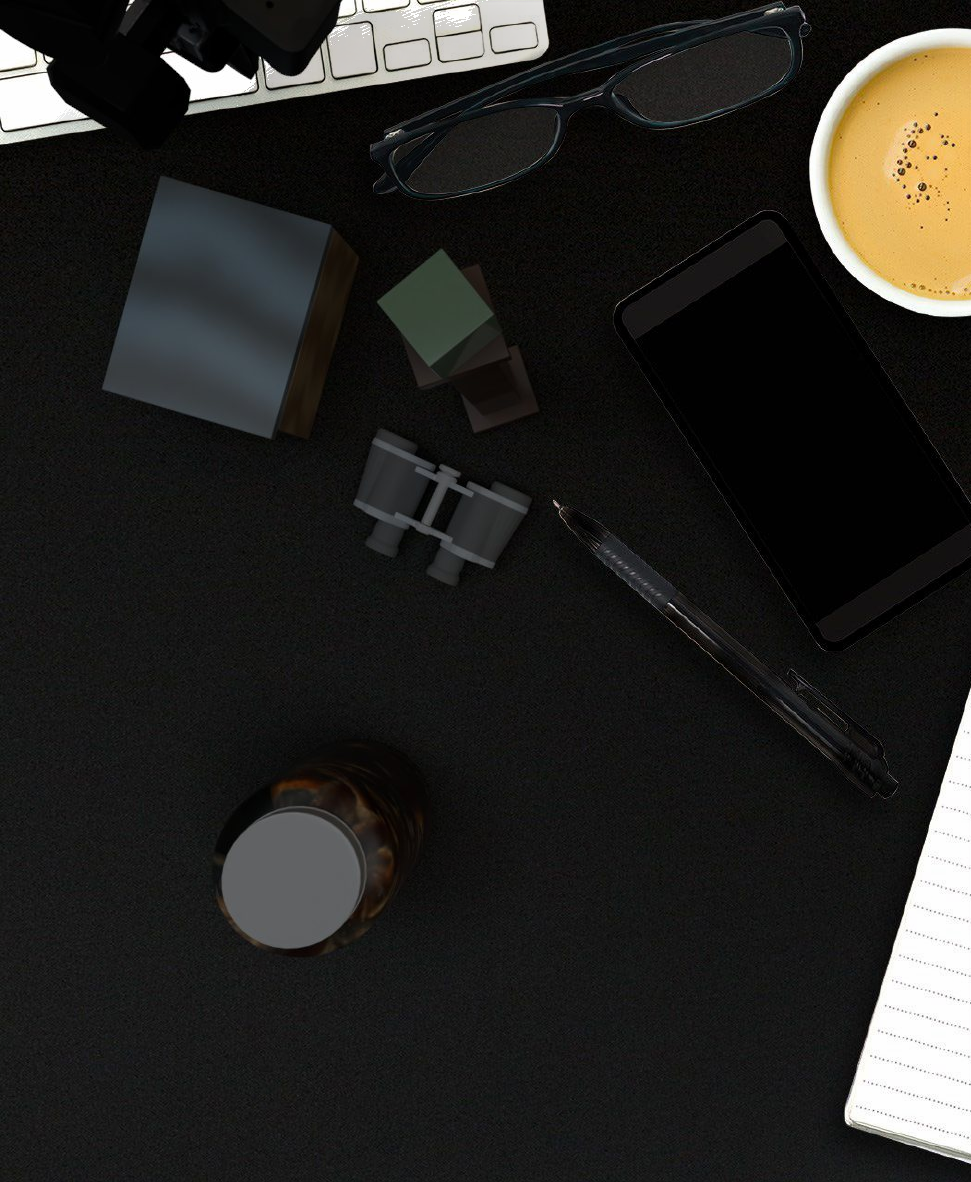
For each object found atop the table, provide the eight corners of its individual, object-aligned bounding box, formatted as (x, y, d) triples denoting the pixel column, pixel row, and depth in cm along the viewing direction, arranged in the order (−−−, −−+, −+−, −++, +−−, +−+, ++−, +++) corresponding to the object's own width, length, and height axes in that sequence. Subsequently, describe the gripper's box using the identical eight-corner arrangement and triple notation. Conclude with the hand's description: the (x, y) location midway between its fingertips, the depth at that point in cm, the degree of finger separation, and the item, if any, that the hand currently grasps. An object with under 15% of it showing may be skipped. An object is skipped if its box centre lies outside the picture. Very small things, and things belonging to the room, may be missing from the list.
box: (308, 440, 76) (278, 429, 70) (156, 395, 77) (111, 380, 70) (360, 257, 76) (334, 228, 69) (206, 212, 76) (165, 179, 69)
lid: (274, 440, 70) (271, 439, 69) (107, 391, 70) (101, 389, 69) (334, 228, 69) (331, 224, 68) (165, 179, 69) (160, 174, 68)
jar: (296, 719, 77) (219, 759, 62) (450, 760, 77) (410, 810, 62) (257, 873, 78) (172, 950, 63) (410, 914, 78) (361, 1001, 63)
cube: (393, 319, 54) (376, 301, 50) (454, 270, 54) (441, 247, 50) (442, 381, 54) (428, 367, 50) (503, 331, 54) (494, 314, 50)
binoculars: (534, 499, 76) (530, 496, 73) (488, 599, 77) (482, 602, 73) (384, 429, 76) (373, 423, 73) (339, 530, 77) (325, 529, 73)
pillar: (453, 369, 76) (386, 295, 54) (518, 346, 76) (478, 262, 54) (475, 435, 76) (418, 388, 54) (541, 412, 76) (510, 356, 54)
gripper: (174, 118, 47) (272, 265, 62) (405, -203, 49) (445, 17, 64) (-33, -9, 47) (116, 169, 63) (205, -322, 49) (292, -74, 65)
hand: (248, 71), depth 64 cm, fingers closed
